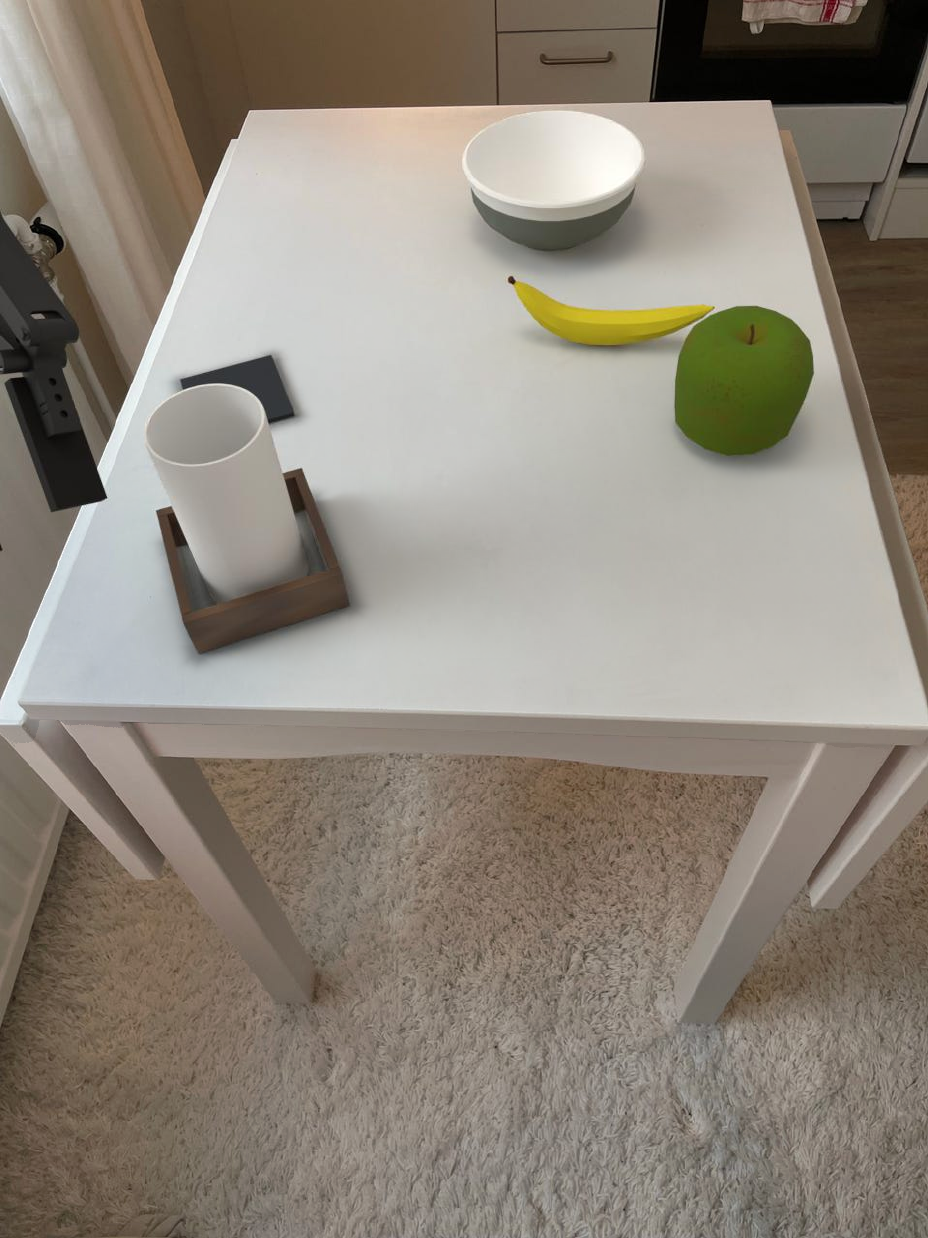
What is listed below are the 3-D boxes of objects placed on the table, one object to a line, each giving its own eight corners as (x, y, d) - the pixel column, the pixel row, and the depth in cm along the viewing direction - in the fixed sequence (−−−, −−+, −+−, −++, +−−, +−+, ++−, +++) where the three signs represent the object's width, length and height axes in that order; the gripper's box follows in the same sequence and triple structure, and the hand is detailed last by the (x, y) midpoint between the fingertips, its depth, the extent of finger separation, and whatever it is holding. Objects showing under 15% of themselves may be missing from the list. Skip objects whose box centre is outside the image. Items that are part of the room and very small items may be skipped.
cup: (317, 537, 79) (277, 384, 66) (296, 616, 74) (249, 469, 61) (221, 532, 80) (163, 381, 67) (194, 611, 75) (126, 464, 62)
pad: (199, 443, 86) (197, 439, 86) (181, 383, 91) (179, 379, 91) (295, 416, 88) (294, 412, 87) (272, 358, 93) (271, 354, 93)
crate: (198, 654, 72) (183, 623, 69) (170, 542, 79) (155, 510, 76) (350, 605, 74) (342, 573, 71) (310, 501, 81) (301, 467, 78)
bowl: (450, 196, 108) (446, 123, 102) (609, 171, 110) (615, 97, 103) (485, 292, 97) (482, 217, 91) (661, 263, 99) (671, 187, 92)
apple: (773, 486, 80) (804, 384, 71) (650, 449, 83) (666, 347, 74) (808, 403, 85) (841, 299, 77) (692, 372, 89) (711, 269, 80)
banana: (705, 361, 89) (716, 303, 84) (506, 343, 92) (505, 286, 87) (706, 341, 91) (717, 283, 86) (511, 324, 94) (510, 267, 89)
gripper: (50, 17, 44) (202, 463, 46) (-116, 241, 61) (2, 559, 63) (-126, -15, 38) (58, 492, 41) (-254, 241, 55) (-119, 589, 58)
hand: (24, 534), depth 52 cm, fingers open, 13 cm apart
